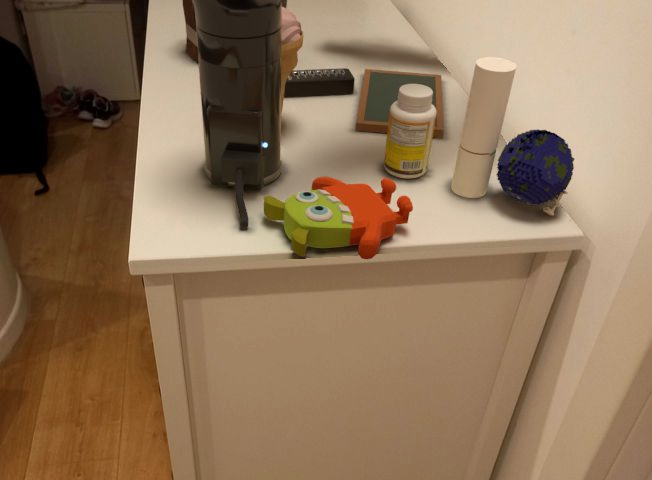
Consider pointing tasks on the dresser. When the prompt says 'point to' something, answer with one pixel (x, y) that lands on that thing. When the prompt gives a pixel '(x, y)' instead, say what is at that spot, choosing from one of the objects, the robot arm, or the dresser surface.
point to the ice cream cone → (289, 46)
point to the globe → (536, 168)
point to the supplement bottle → (410, 132)
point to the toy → (339, 215)
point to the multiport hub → (319, 82)
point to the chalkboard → (393, 98)
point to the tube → (482, 125)
